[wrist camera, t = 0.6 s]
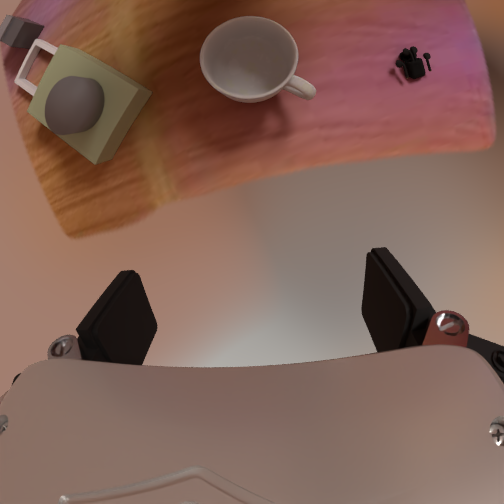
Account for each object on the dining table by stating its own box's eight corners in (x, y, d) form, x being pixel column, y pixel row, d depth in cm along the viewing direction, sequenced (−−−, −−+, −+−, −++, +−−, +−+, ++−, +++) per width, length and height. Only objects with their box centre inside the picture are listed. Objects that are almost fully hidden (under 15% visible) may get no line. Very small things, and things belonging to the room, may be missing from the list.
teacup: (195, 74, 32) (179, 63, 25) (248, 21, 28) (245, -1, 21) (272, 135, 36) (274, 138, 28) (325, 82, 32) (340, 73, 25)
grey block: (27, 19, 23) (6, 14, 17) (44, 26, 25) (22, 21, 19) (15, 40, 25) (-6, 38, 19) (31, 49, 27) (8, 46, 21)
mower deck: (46, 32, 26) (14, 26, 18) (152, 92, 33) (124, 86, 25) (17, 88, 30) (-15, 91, 22) (112, 159, 37) (79, 170, 29)
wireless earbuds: (404, 84, 30) (394, 52, 26) (394, 80, 31) (385, 51, 28) (436, 73, 28) (428, 44, 25) (426, 70, 30) (418, 42, 27)
